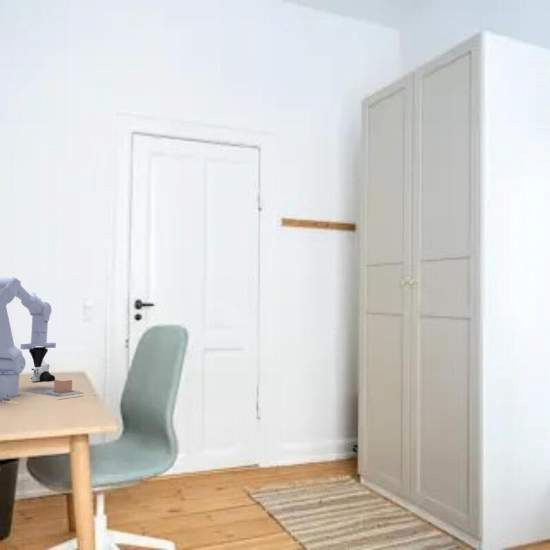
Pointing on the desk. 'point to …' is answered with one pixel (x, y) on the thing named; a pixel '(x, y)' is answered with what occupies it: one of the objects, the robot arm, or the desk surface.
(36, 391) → the board
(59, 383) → the block
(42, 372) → the toy
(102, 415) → the desk surface
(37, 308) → the robot arm
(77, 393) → the locating frame
